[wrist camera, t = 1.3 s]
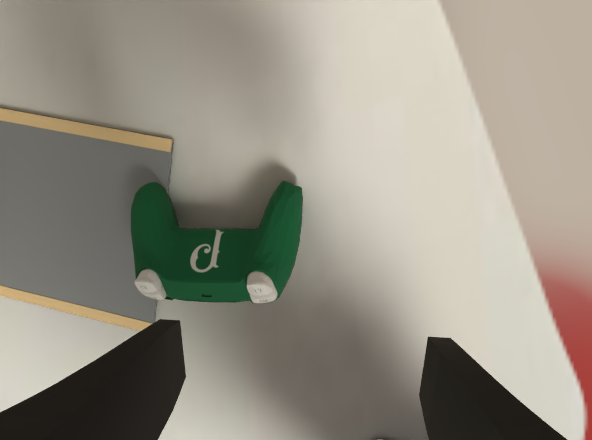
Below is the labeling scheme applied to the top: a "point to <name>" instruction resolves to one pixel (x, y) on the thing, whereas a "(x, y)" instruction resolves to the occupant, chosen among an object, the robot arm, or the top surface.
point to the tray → (74, 215)
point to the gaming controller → (214, 251)
